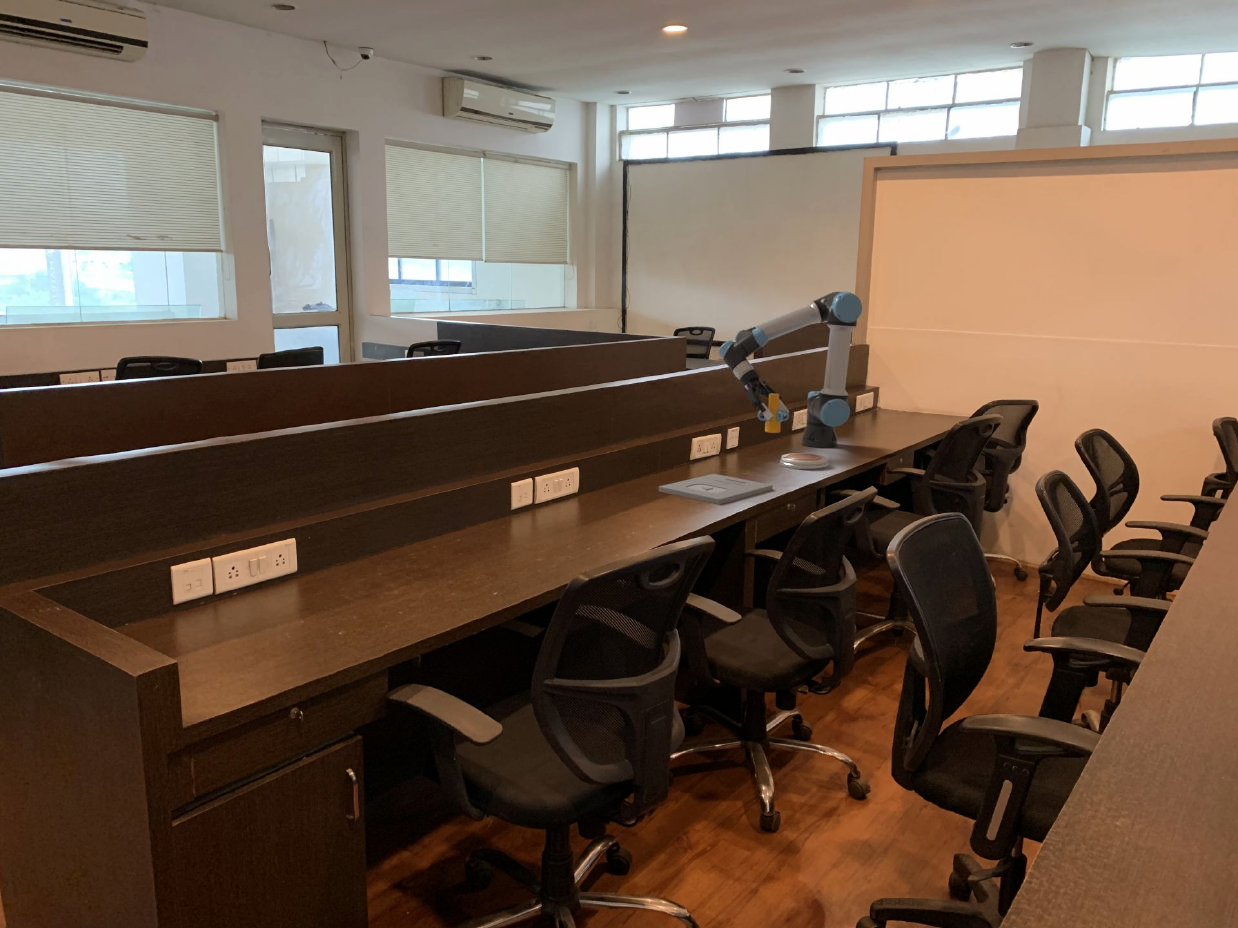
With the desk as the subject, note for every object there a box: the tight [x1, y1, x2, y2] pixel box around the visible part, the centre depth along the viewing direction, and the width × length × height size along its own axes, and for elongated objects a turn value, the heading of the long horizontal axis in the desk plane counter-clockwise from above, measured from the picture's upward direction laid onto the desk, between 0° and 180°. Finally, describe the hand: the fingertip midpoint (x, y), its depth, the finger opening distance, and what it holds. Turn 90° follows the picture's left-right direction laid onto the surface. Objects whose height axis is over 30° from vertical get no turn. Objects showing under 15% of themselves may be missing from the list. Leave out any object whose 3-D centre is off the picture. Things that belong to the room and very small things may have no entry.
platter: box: [781, 452, 828, 466], centre depth 351 cm, size 17×17×2 cm
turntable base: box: [779, 458, 829, 471], centre depth 352 cm, size 18×18×2 cm
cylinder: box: [757, 393, 790, 434], centre depth 364 cm, size 12×10×15 cm
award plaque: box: [658, 473, 774, 505], centre depth 307 cm, size 25×30×2 cm
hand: (778, 416), depth 363 cm, fingers closed on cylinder, 12 cm apart
